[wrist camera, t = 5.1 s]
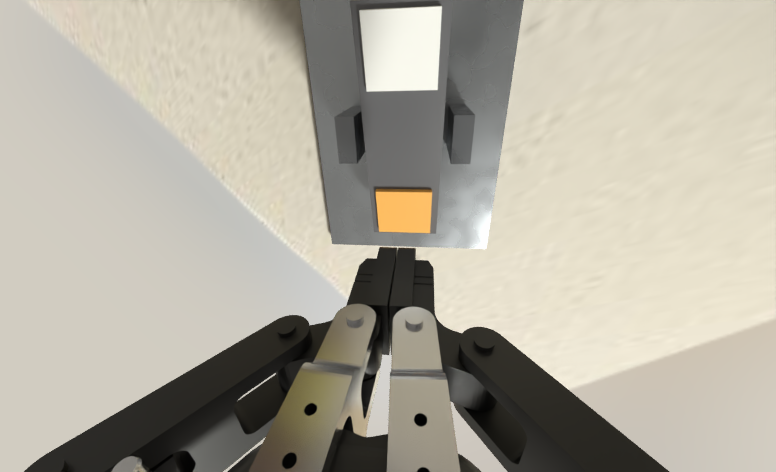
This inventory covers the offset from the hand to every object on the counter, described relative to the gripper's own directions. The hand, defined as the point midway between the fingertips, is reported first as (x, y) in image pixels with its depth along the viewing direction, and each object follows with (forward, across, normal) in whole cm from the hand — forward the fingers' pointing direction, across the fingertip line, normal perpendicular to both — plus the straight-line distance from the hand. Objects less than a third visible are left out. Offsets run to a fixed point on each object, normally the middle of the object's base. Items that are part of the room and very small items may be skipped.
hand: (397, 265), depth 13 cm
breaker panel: (+11, 0, -4) cm, 11 cm away
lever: (+6, 0, -4) cm, 7 cm away
